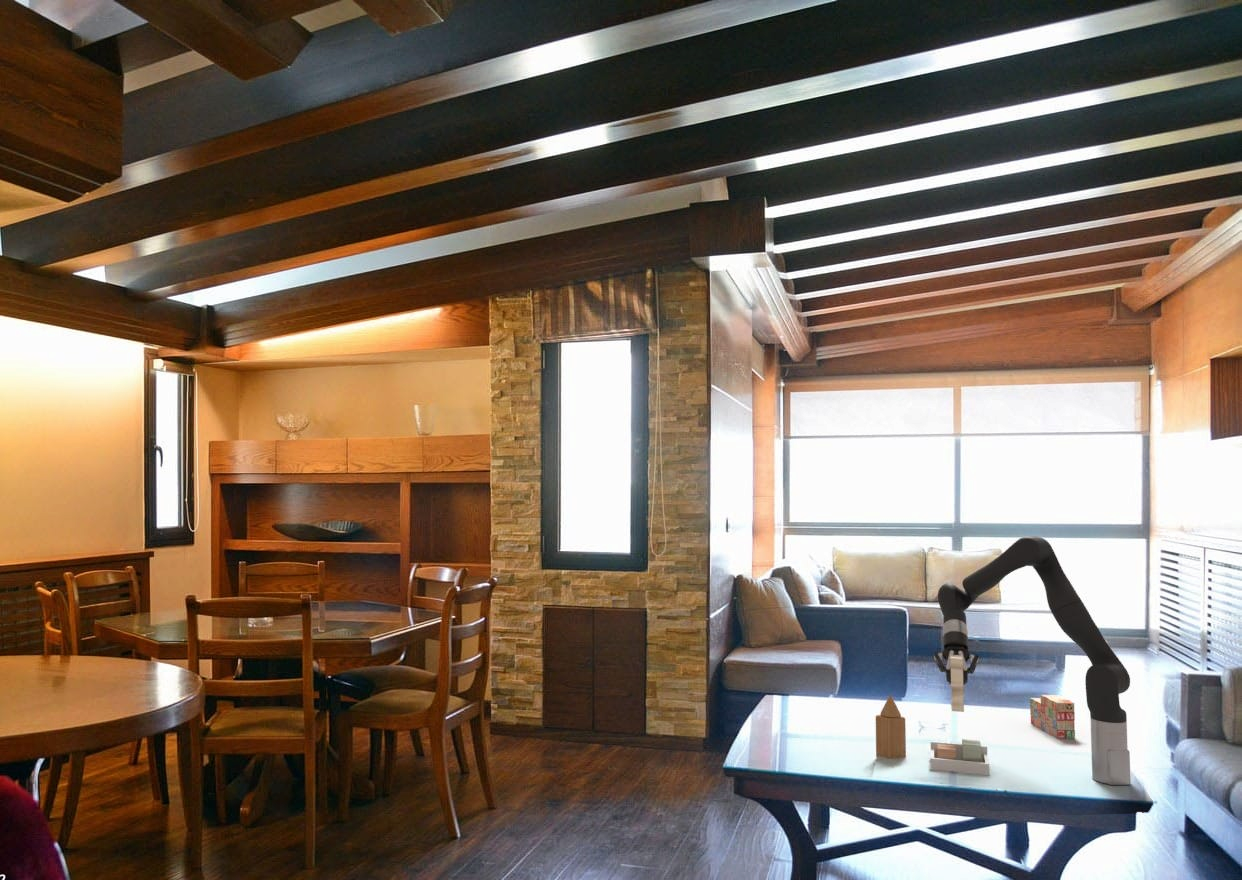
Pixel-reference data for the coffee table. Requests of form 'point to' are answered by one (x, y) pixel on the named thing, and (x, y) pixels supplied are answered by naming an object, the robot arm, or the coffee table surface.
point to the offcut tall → (971, 750)
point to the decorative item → (890, 731)
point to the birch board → (957, 683)
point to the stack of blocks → (1053, 715)
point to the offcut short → (946, 752)
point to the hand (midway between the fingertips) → (957, 682)
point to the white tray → (959, 760)
